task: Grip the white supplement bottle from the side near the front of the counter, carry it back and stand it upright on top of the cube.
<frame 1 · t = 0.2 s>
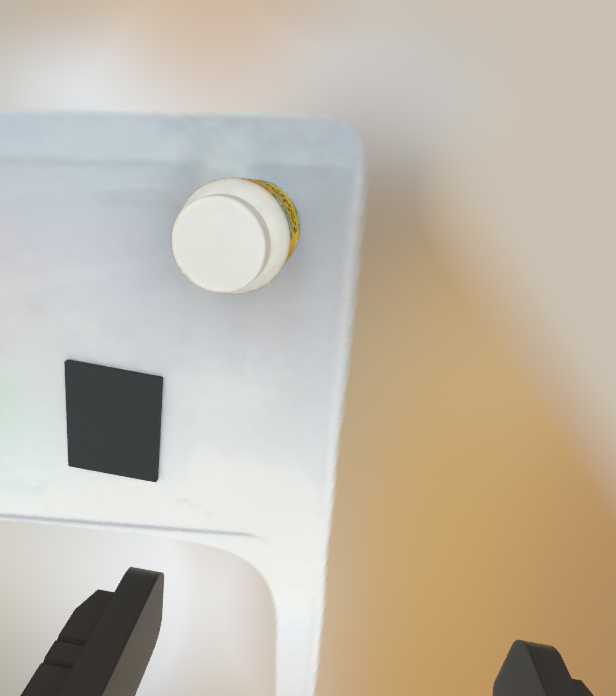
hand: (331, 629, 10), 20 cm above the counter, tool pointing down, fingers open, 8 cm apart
supplement bottle: (259, 225, 27), on the counter
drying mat: (114, 422, 33), on the counter
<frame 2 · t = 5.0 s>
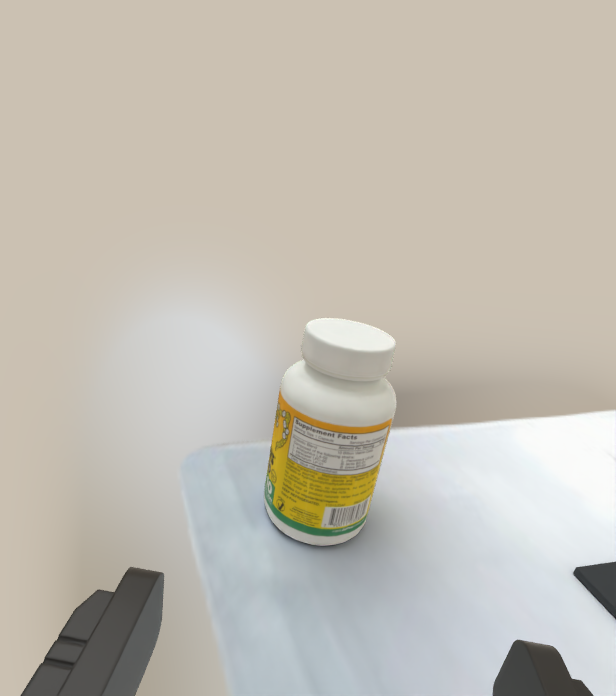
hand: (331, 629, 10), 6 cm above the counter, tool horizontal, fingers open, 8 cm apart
supplement bottle: (313, 510, 22), on the counter
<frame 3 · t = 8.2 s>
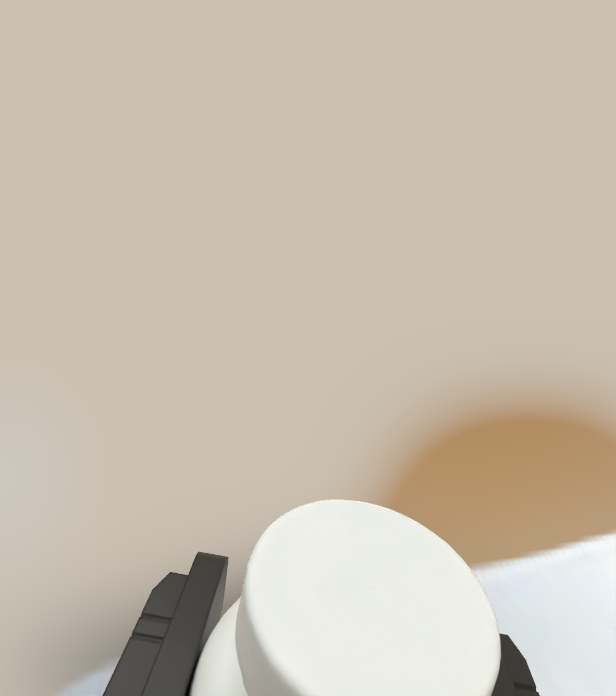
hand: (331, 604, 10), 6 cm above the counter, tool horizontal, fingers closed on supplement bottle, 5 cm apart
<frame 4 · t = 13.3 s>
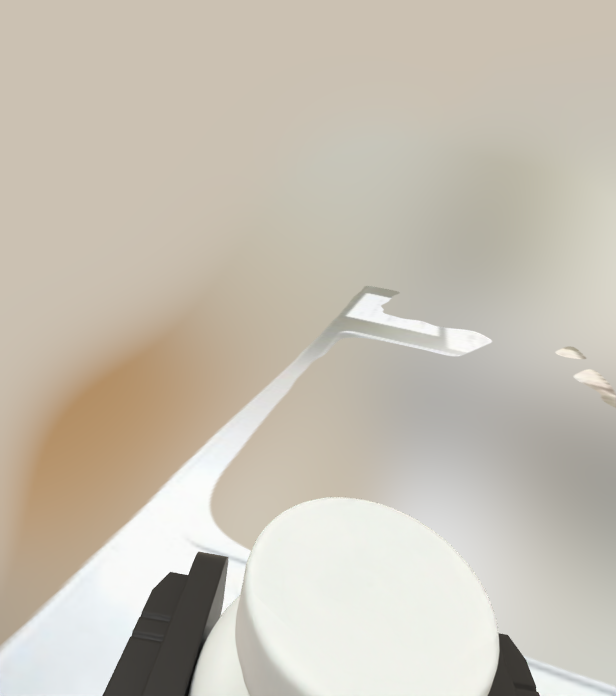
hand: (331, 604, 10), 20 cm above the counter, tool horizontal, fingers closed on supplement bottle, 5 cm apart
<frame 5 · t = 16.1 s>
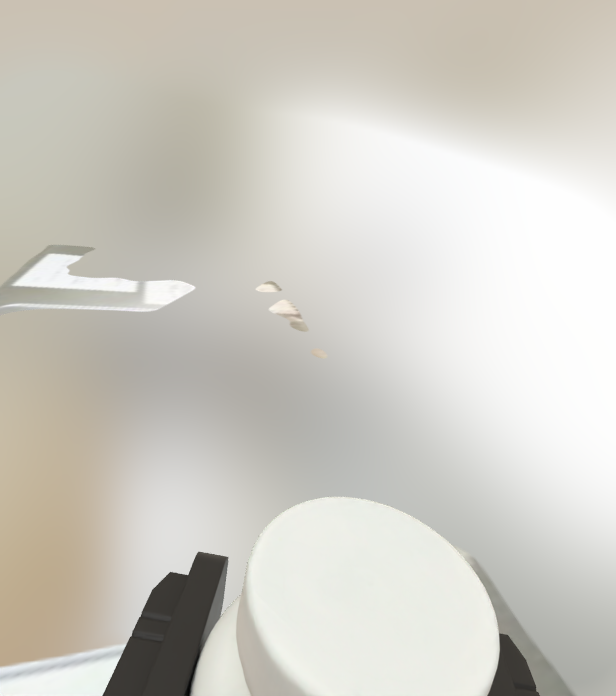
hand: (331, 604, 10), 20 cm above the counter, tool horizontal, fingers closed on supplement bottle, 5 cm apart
when the fingers open (14 cm above the counter, at t = 18.3 s): supplement bottle stays where it is, resting on cube.
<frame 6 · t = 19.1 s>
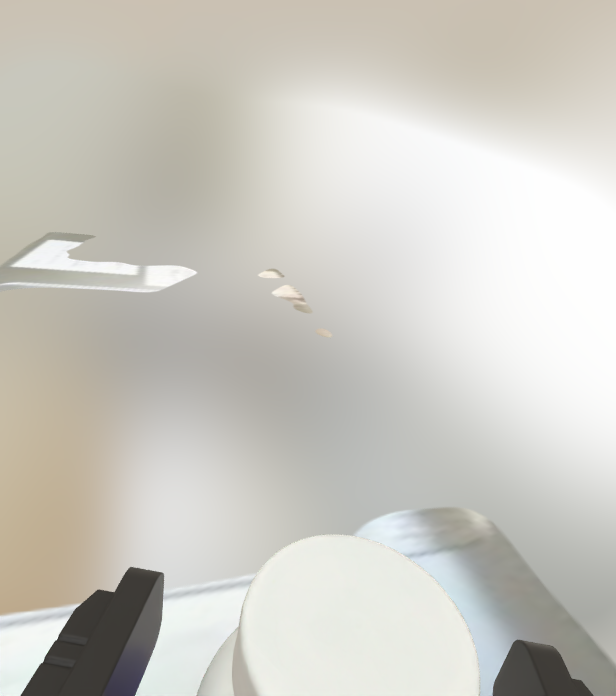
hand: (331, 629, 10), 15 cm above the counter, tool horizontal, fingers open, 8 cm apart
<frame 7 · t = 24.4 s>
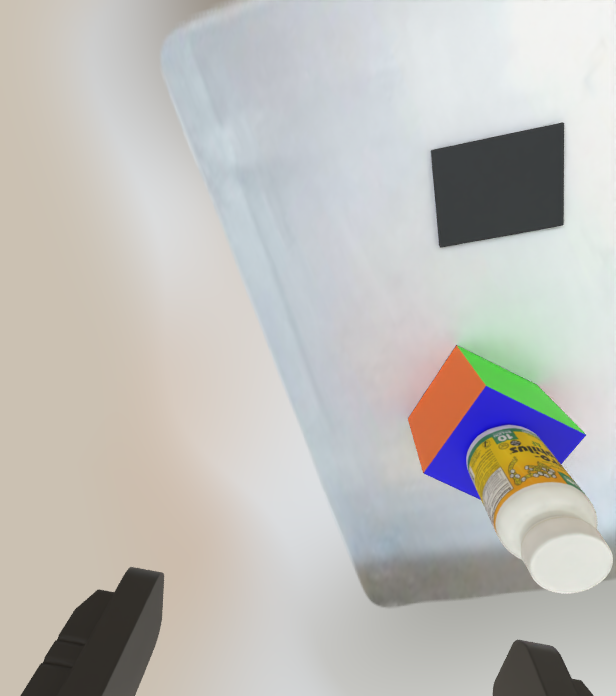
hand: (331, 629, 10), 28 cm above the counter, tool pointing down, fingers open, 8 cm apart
supplement bottle: (502, 453, 31), point 8 cm above the counter, touching cube
cube: (470, 401, 38), on the counter, touching supplement bottle
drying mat: (497, 188, 32), on the counter
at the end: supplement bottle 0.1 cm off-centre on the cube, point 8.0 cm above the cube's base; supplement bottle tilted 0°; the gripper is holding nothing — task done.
